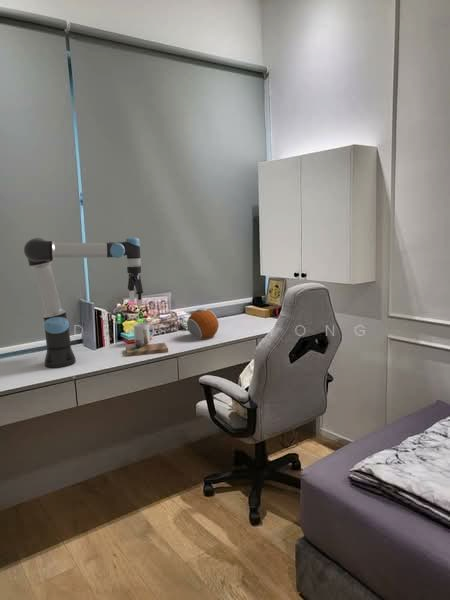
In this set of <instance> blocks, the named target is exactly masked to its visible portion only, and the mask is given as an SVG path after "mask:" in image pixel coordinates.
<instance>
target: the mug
mask: <svg viewBox="0 0 450 600" xmlns="http://www.w3.org/2000/svg"><path fill="white" fill-rule="evenodd" d="M150 327H152V333H151V334H150ZM143 329H147V336H148V344H150V343H149V342H150V341H151V339H152V337H153V336H155V325H150V323H148V322H138V323H135V324H133V333H134V334H133V335H134V344H136V340H142V344H144V335H143Z"/></svg>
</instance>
